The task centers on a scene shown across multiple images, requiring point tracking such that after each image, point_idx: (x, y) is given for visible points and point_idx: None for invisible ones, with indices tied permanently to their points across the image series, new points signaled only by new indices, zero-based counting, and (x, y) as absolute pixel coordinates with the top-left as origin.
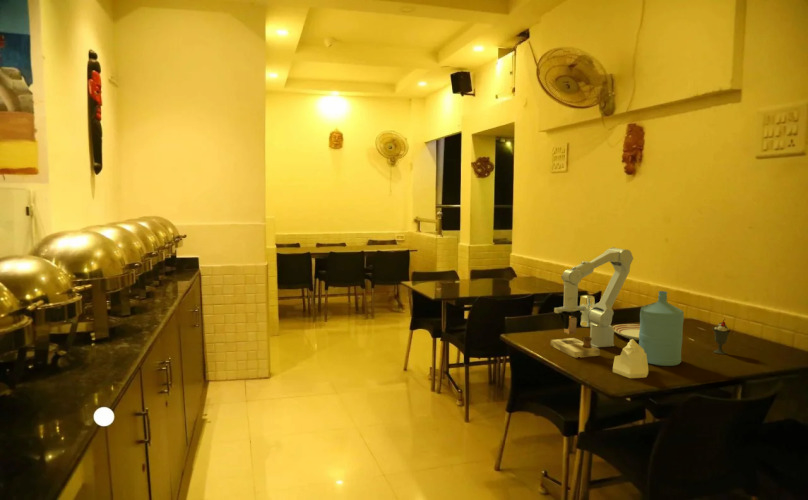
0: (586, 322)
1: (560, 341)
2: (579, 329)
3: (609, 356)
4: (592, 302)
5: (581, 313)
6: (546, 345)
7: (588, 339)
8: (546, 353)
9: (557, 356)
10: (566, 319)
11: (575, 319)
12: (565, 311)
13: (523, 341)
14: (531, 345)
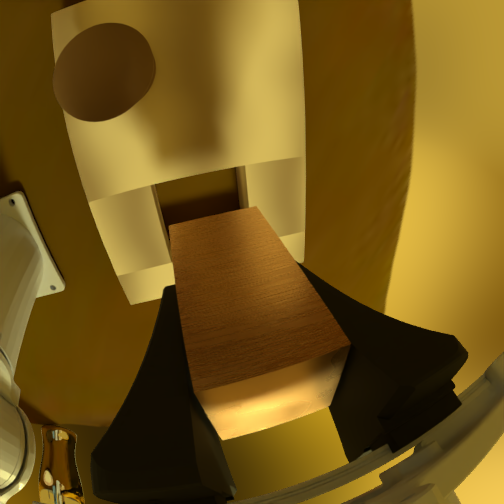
0: (58, 439)
1: None
2: (79, 416)
3: (18, 13)
4: (45, 499)
5: (100, 480)
6: (308, 244)
7: (114, 24)
8: (382, 113)
9: (357, 48)
10: (375, 321)
11: (212, 357)
12: (411, 442)
13: (361, 296)
14: (369, 246)
